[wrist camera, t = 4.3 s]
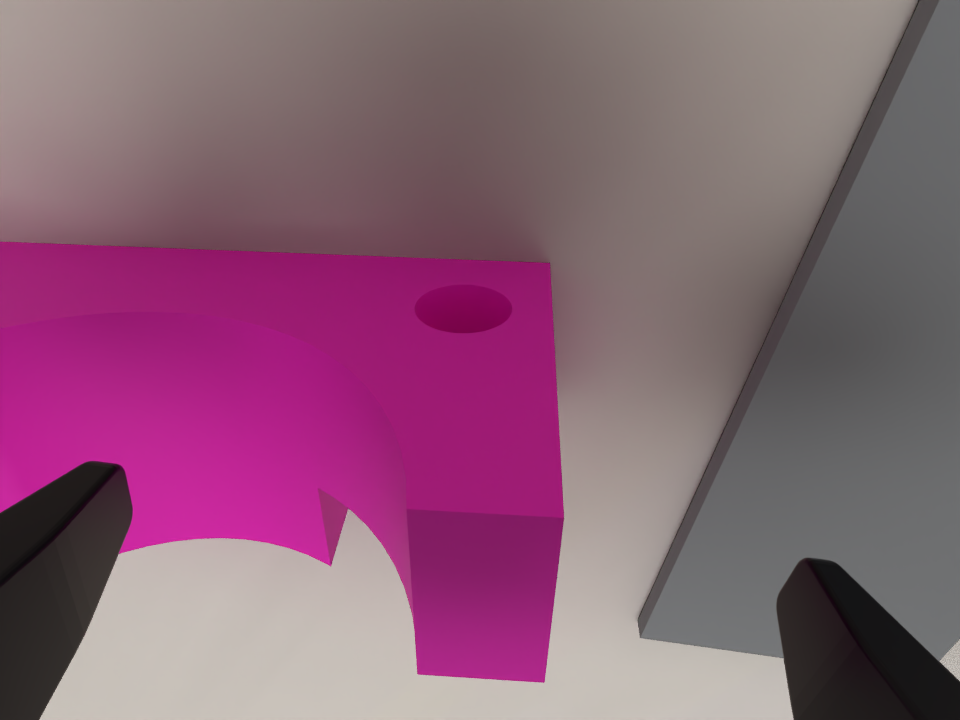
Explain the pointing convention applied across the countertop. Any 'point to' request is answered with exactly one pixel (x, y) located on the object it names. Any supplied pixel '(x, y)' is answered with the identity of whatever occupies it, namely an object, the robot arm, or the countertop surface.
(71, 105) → the countertop surface
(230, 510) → the magenta arched bracket
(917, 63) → the mat
